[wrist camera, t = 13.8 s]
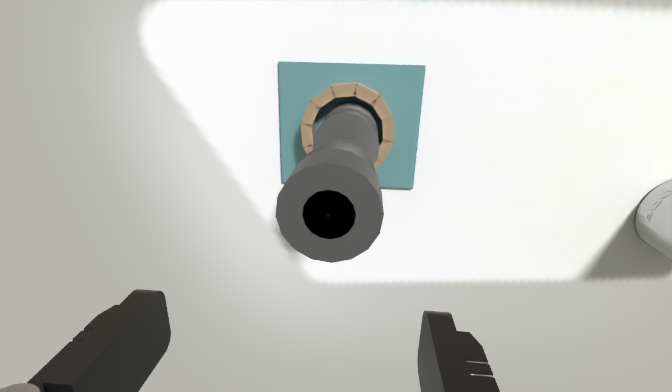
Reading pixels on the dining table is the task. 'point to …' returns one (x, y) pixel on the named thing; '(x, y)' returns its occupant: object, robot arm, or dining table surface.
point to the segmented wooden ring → (345, 91)
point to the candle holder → (335, 189)
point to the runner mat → (388, 80)
